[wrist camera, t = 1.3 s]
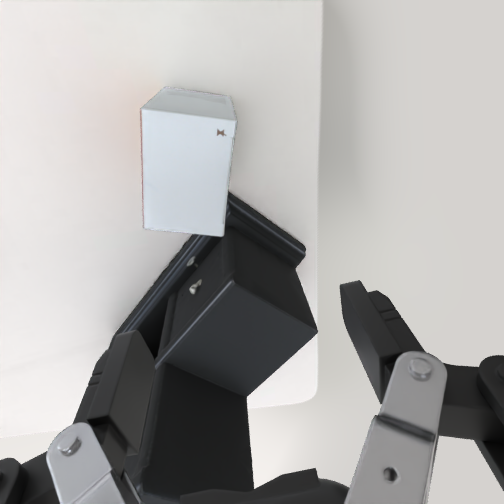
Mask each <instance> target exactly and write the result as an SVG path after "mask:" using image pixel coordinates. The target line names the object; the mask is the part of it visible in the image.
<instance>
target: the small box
mask: <svg viewBox="0 0 504 504" xmlns="http://www.w3.org/2000/svg"><path fill="white" fill-rule="evenodd" d="M140 115H141V159H142V201H143V229H149V230H159V231H170V232H180V233H190V234H200V235H210V236H220V237H222V236H224V227H225V214H226V204H227V195H228V187H229V178H230V170H231V161H232V153H233V147H234V140H235V134H236V128H237V119H236V115H235V111H234V107H233V103H232V100H231V97H230V96H223V95H217V94H211V93H204V92H198V91H191V90H185V89H178V88H171V87H164V88H163V89H162V90H160V91H159V92H158V93H157V94H156V95H155V96H154V97H153V98H152V99H150V100H149V101H148V102H147V103H146V104H145V105H144V106H143V107H142V108H141V109H140Z"/></svg>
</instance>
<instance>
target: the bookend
mask: <svg viewBox="0 0 504 504" xmlns="http://www.w3.org/2000/svg"><path fill="white" fill-rule="evenodd" d="M305 251H306V248H305V246H304V245H303V244H301V243H300V242H299V241H297V240H296V239H294V238H293V237H291V236H290V235H289V234H287V233H286V232H285V231H283V230H282V229H280V228H279V227H278V226H276V225H275V224H273V223H272V222H271V221H269V220H268V219H266V218H265V217H264V216H262V215H261V214H259V213H258V212H257V211H256V210H254V209H252V208H251V207H249V206H248V205H247V204H245V203H244V202H242V201H241V200H239V199H238V198H237V197H235V196H234V195H232V194H231V193H229V192H228V195H227V204H226V214H225V227H224V236H222V237H220V236H210V235H200V234H193V235H192V236H191V237H190V239H189V240H188V241H187V243H185V244H184V245H183V248H182V249H181V250H180V252H179V253H178V254H177V255H176V256H175V258H174V259H173V260H172V261H171V262H170V264H169V266H168V267H167V268H166V269H165V270H164V271H163V272H162V274H161V275H160V276H159V278H158V279H157V281H156V282H155V283H154V285H153V286H152V287H151V288H150V290H149V291H148V292H147V294H146V295H145V296H144V298H143V299H142V300H141V301H140V303H139V304H138V305H137V306H136V308H135V309H134V310H133V312H132V313H131V314H130V315H129V317H128V318H127V319H126V321H125V322H124V323H123V324H122V326H121V327H120V328H119V330H118V331H117V332H116V333H115V335H114V336H113V338H112V340H111V343H110V346H109V349H108V350H110V349H111V348H112V345H113V342H114V339H115V337H116V335H117V334H121V333H125V332H130V331H134V330H138V331H139V332H140V334H141V335H142V337H143V339H144V341H145V343H146V345H147V346H148V348H149V350H150V352H151V354H152V356H153V358H154V363H155V372H154V377H153V382H152V387H151V392H150V397H149V403H148V408H147V413H146V418H145V423H144V428H143V433H142V438H141V443H140V448H139V453H138V454H137V455H132V456H127V457H126V459H125V463H124V468H125V469H126V471H127V472H128V474H129V476H130V478H131V480H132V482H133V484H134V485H135V487H136V489H137V491H138V493H139V495H140V496H141V498H142V500H143V502H144V504H180V495H185V494H190V493H195V492H200V491H205V490H209V489H220V490H230V491H239V492H249V491H252V490H254V482H253V470H252V457H251V447H250V436H249V423H248V411H247V396H248V395H249V394H251V393H252V392H253V391H254V390H255V389H256V388H257V387H258V386H259V385H261V384H262V383H263V382H264V381H265V380H266V379H267V378H268V377H270V376H271V375H272V374H273V373H274V372H275V371H276V370H277V369H278V368H279V367H281V366H282V365H283V364H284V363H285V362H286V361H287V360H288V359H290V358H291V357H292V356H293V355H294V354H295V353H296V352H297V351H298V350H299V349H301V348H302V347H303V346H304V345H305V344H306V343H307V342H308V341H309V340H311V339H312V338H313V337H314V336H315V335H316V334H317V333H318V330H317V326H316V324H315V321H314V318H313V315H312V313H311V310H310V307H309V304H308V302H307V299H306V296H305V294H304V291H303V288H302V286H301V283H300V281H299V278H298V275H297V273H296V269H295V268H296V267H297V266H298V265H299V264H300V263H301V261H302V260H303V259H304V257H305Z"/></svg>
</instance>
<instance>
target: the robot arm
mask: <svg viewBox="0 0 504 504" xmlns="http://www.w3.org/2000/svg"><path fill="white" fill-rule="evenodd" d="M340 295H341V305H342V314H343V319H344V323H345V326H346V329H347V331H348V333H349V336H350V338H351V340H352V342H353V344H354V347H355V349H356V351H357V353H358V355H359V358H360V360H361V362H362V364H363V367H364V369H365V371H366V373H367V375H368V377H369V380H370V382H371V384H372V386H373V388H374V391H375V393H376V395H377V397H378V399H379V402H380V404H382V406H381V409H380V412H379V414H378V415H375V416H374V418H373V420H372V422H371V425H370V428H369V431H368V434H367V437H366V440H365V443H364V446H363V449H362V452H361V455H360V458H359V461H358V464H357V467H356V470H355V473H354V476H353V479H352V483H351V485H350V488H349V487H347V486H345V485H343V484H340V483H338V482H335V481H331V480H327V479H320V478H318V476H317V471H316V468H313V469H308V470H303V471H298V472H293V473H288V474H283V475H281V476H279V477H277V478H275V479H273V480H271V481H269V482H267V483H265V484H264V485H262V486H259V487H258V488H256V489H254V490H252V491H249V492H239V491H230V490H220V489H209V490H205V491H200V492H195V493H190V494H185V495H180V504H427V502H428V496H429V489H430V484H431V477H432V473H433V467H434V461H435V455H436V450H437V445H438V439H439V435H440V436H448V437H455V438H464V439H471V440H474V441H475V443H476V444H477V446H478V448H479V450H480V451H481V453H482V455H483V456H484V458H485V460H486V462H487V463H488V465H489V467H490V468H491V470H492V472H493V473H494V475H495V477H496V479H497V480H498V482H499V484H500V486H501V487H502V489H503V491H504V356H503V355H496V356H490V357H487V358H485V359H484V360H483V361H482V362H481V363H480V366H479V367H469V366H456V365H450V364H445V363H442V362H441V361H440V360H439V359H438V358H437V357H435V356H433V355H431V354H429V353H426V352H425V351H424V349H423V348H422V346H421V345H420V343H419V342H418V341H417V339H416V338H415V336H414V335H413V333H412V332H411V330H410V329H409V327H408V326H407V324H406V323H405V321H404V320H403V318H401V315H400V314H399V313H398V311H397V310H396V309H395V307H394V305H393V304H392V302H391V301H390V299H389V298H388V297H387V296H385V295H383V294H382V293H380V292H379V291H377V290H376V291H372V292H367V291H366V289H365V287H364V286H363V284H362V283H361V281H360V280H358V281H354V282H349V283H345V284H341V285H340ZM154 372H155V363H154V358H153V356H152V354H151V352H150V350H149V348H148V346H147V345H146V343H145V341H144V339H143V337H142V335H141V334H140V332H139V331H138V330H134V331H130V332H125V333H121V334H117V335H116V337H115V339H114V342H113V345H112V348H111V349H110V350H106V351H105V352H104V354H103V355H102V356H101V357H100V359H99V360H98V361H97V363H96V365H95V368H94V371H93V373H92V377H91V378H90V381H89V383H88V385H89V386H88V387H87V389H86V391H85V394H84V396H83V399H82V401H81V404H80V407H79V409H78V412H77V414H76V417H75V419H74V422H73V424H72V425H71V426H69V427H67V428H66V429H64V430H63V431H62V432H60V433H59V434H58V435H57V436H56V438H55V439H54V440H53V441H52V443H51V444H50V446H49V448H48V451H46V452H45V453H43V454H41V455H39V456H37V457H35V458H33V459H31V460H29V461H27V462H25V463H23V464H20V463H19V462H18V461H17V460H15V459H14V458H5V459H3V460H0V504H144V502H143V500H142V498H141V496H140V495H139V493H138V491H137V489H136V487H135V485H134V484H133V482H132V480H131V478H130V476H129V474H128V472H127V471H126V469H125V468H124V463H125V459H126V457H127V456H132V455H137V454H138V453H139V448H140V443H141V438H142V433H143V428H144V423H145V418H146V413H147V408H148V403H149V397H150V392H151V387H152V382H153V377H154Z"/></svg>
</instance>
